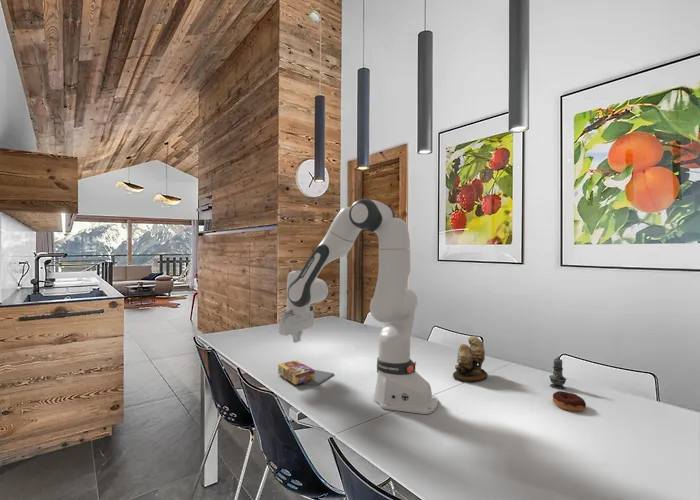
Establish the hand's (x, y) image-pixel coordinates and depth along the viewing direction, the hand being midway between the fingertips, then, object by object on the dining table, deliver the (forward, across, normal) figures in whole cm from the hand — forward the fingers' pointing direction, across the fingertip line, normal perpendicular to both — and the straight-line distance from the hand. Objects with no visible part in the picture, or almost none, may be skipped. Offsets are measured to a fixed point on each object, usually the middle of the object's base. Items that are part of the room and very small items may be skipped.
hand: (296, 341), depth 152 cm
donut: (+14, +19, -99) cm, 102 cm away
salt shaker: (+14, +37, -97) cm, 105 cm away
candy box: (+11, 0, +4) cm, 12 cm away
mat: (+14, 0, -6) cm, 15 cm away
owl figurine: (+14, +33, -65) cm, 74 cm away
